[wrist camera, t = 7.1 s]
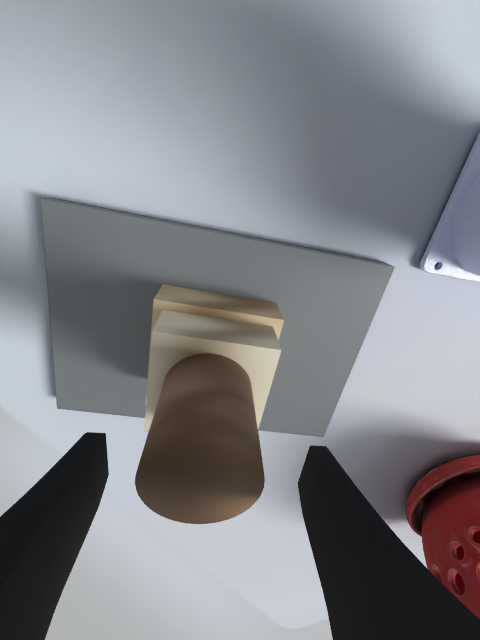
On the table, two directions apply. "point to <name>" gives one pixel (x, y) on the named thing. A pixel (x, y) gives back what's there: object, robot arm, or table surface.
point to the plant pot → (451, 526)
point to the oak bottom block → (215, 308)
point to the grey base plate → (205, 275)
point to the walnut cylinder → (202, 444)
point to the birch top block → (212, 352)
